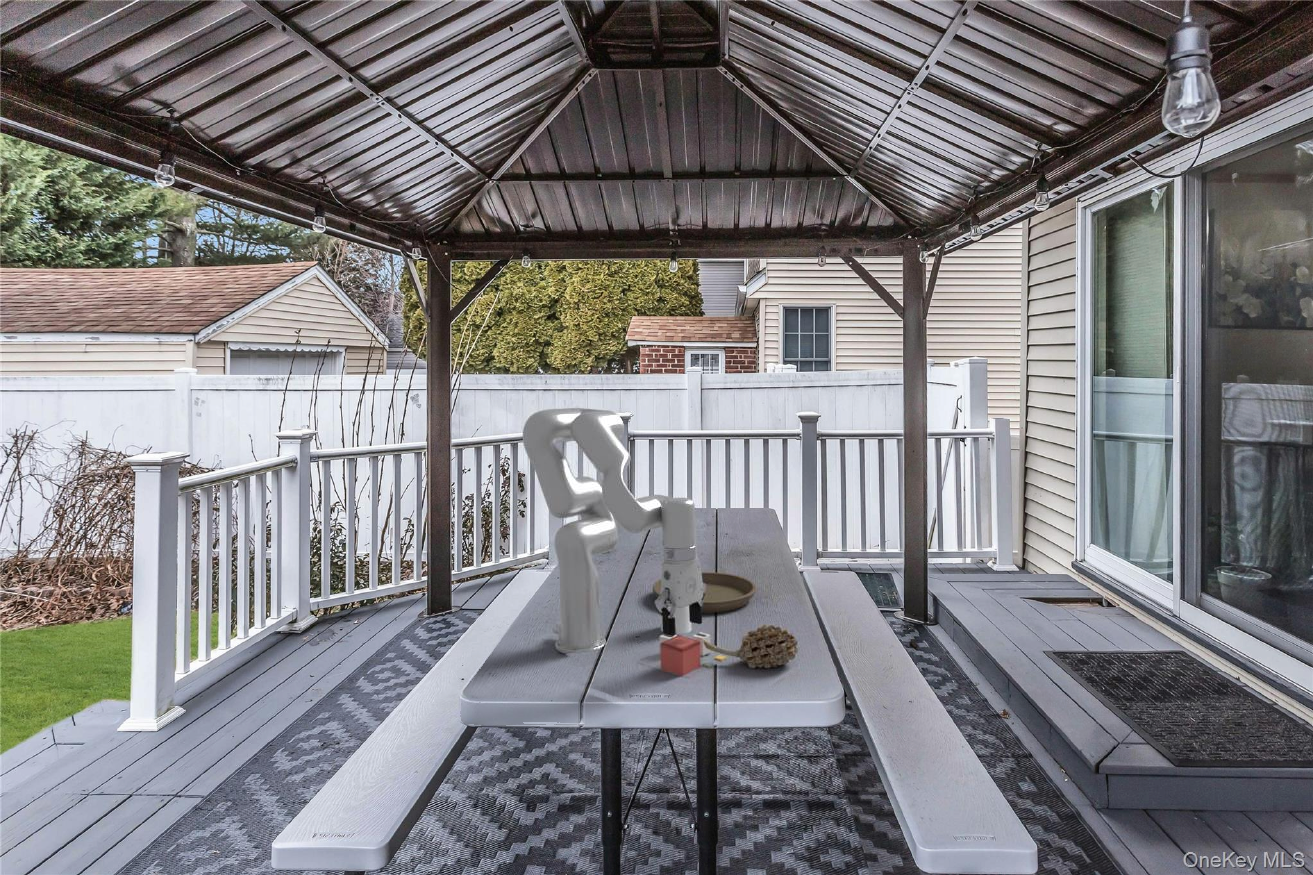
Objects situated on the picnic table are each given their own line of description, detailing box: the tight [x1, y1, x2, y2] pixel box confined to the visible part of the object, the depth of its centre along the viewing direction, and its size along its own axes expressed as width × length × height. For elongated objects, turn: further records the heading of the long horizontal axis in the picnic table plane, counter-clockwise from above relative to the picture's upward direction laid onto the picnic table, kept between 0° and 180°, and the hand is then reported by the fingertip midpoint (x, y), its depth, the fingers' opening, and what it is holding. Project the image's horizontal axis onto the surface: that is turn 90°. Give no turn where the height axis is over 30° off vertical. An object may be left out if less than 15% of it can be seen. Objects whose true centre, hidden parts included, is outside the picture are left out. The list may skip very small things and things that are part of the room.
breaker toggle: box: [692, 632, 711, 656], centre depth 181 cm, size 3×3×4 cm
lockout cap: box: [659, 635, 701, 677], centre depth 172 cm, size 6×6×6 cm
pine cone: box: [702, 624, 799, 669], centre depth 174 cm, size 22×10×10 cm, turn 85°
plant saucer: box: [652, 571, 757, 614], centre depth 228 cm, size 31×31×5 cm
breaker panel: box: [637, 633, 732, 679], centre depth 178 cm, size 15×18×6 cm
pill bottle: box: [660, 604, 692, 636], centre depth 198 cm, size 8×8×15 cm
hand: (682, 628), depth 171 cm, fingers open, 9 cm apart
